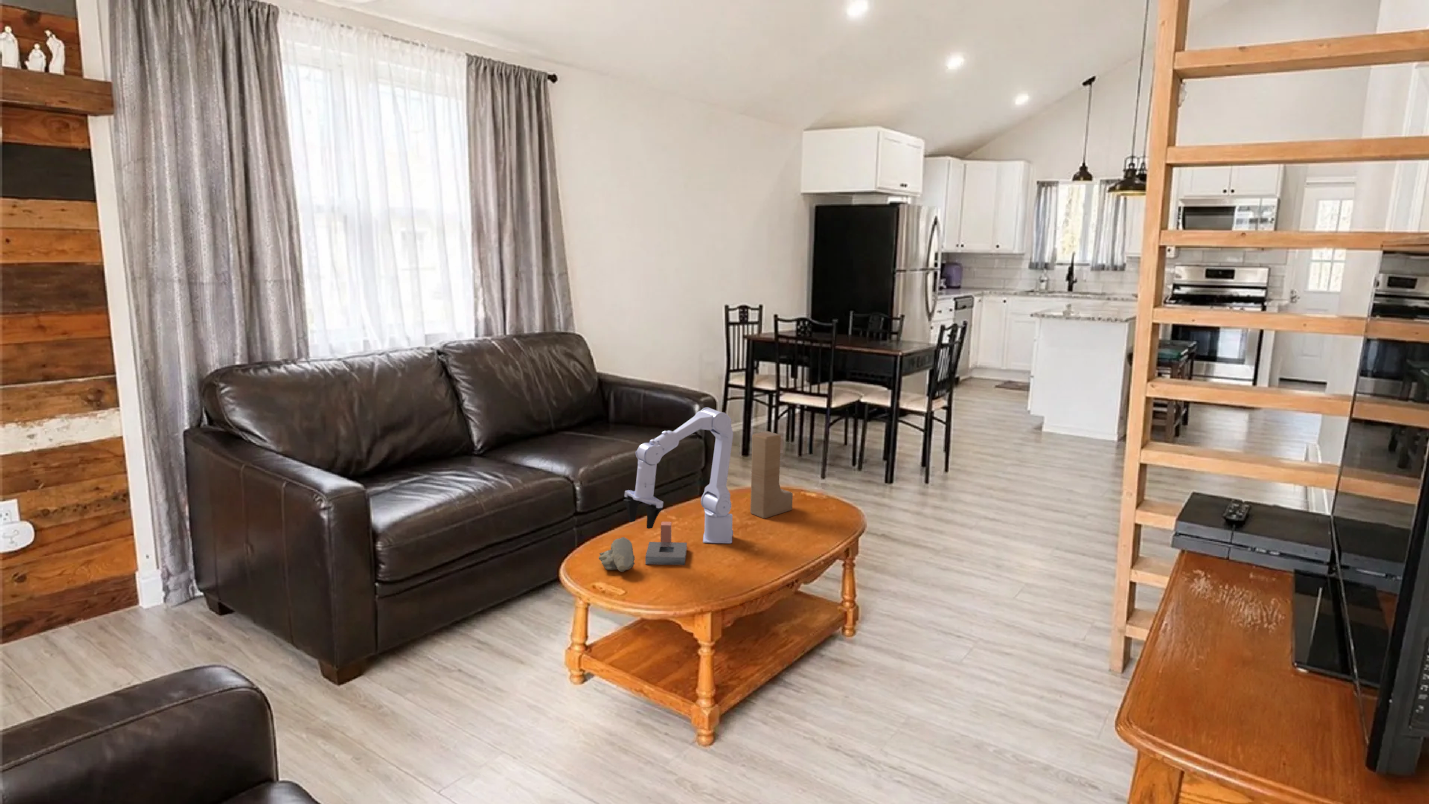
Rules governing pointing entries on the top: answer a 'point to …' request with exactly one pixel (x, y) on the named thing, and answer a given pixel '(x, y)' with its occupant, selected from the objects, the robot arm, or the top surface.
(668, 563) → the gray slotted base
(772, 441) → the decorative block
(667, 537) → the reddish brown rectangular block
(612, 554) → the fossil
